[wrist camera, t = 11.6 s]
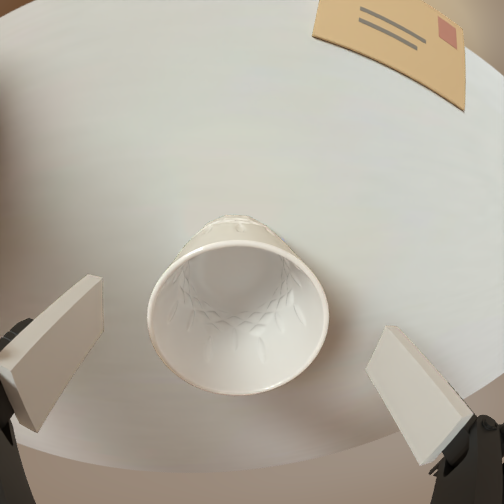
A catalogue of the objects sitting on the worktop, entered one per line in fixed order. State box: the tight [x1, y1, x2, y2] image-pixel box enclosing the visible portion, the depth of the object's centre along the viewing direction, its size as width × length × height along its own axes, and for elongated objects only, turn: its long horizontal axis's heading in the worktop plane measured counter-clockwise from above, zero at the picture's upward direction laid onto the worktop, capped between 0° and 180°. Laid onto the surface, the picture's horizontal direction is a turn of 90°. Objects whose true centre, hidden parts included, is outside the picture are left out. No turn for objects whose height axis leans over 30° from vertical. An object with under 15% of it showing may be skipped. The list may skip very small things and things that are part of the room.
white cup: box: [147, 215, 329, 396], centre depth 16 cm, size 8×8×10 cm
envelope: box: [312, 0, 465, 110], centre depth 16 cm, size 16×11×1 cm
